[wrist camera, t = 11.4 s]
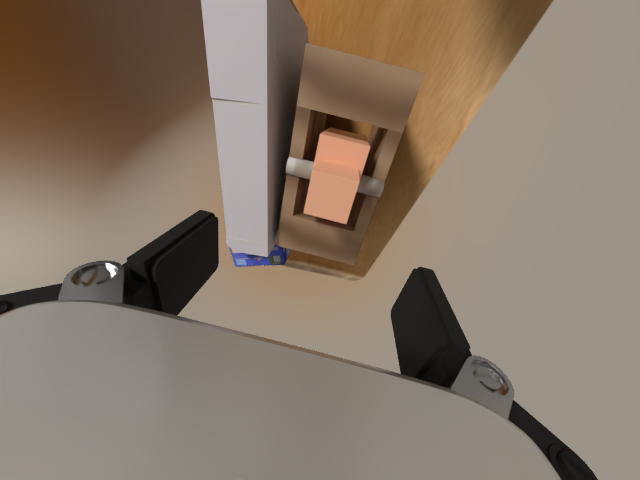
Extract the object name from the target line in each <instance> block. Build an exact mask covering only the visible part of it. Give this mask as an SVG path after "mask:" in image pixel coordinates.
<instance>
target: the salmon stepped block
mask: <svg viewBox="0 0 640 480" xmlns="http://www.w3.org/2000/svg"><path fill="white" fill-rule="evenodd" d="M369 150H370V145H369V143H368V141H367V139H366V137H365V136H362V135H359V134H355V133H351V132H347V131H343V130H339V129H335V128H332V127H330V128H328V129H327V130H325V131H323V132H322V133H320V136H319V141H318V146H317V151H316V156H315V161H314V166H313V169H312V173H311V178H310V183H309V188H308V193H307V198H306V203H305V208H304V213H305V214H308V215H312V216H316V217H320V218H324V219H328V220H332V221H335V222H339V223H343V224H346V223H347V220H348V217H349V214H350V211H351V208H352V204H353V201H354V198H355V195H356V192H357V188H358V185H359V182H360V179H361V175H362V172H363V169H364V166H365V163H366V160H367V156H368V153H369Z"/></svg>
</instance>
